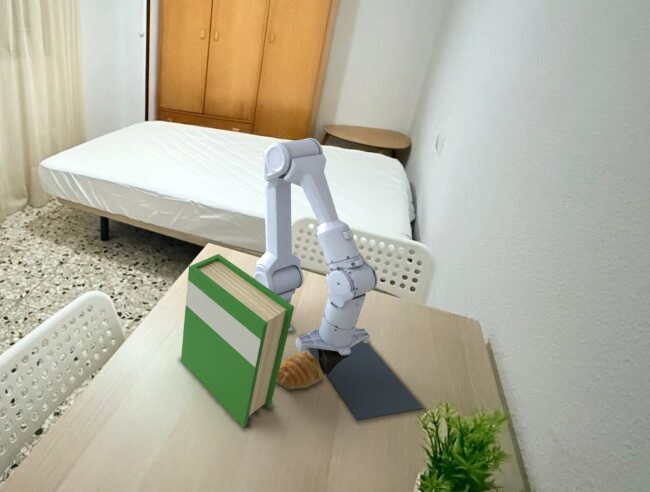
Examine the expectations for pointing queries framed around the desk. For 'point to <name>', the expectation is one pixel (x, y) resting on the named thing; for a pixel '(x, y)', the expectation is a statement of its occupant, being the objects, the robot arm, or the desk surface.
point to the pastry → (299, 371)
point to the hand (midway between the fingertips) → (324, 370)
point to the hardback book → (234, 335)
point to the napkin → (369, 384)
